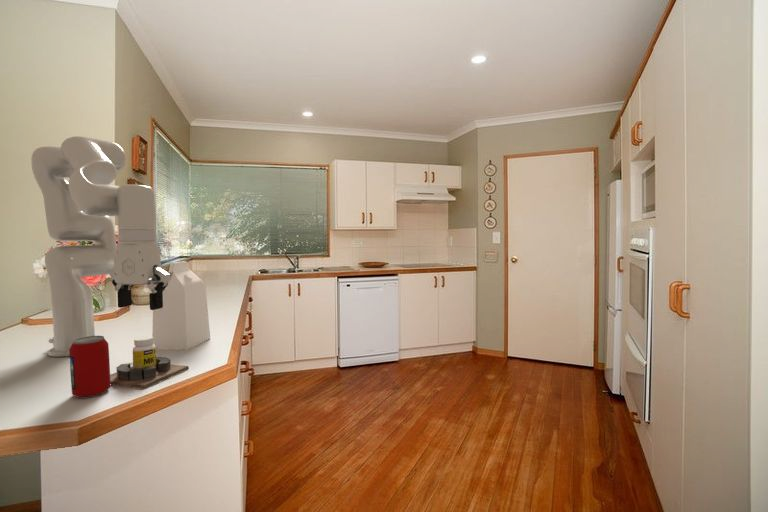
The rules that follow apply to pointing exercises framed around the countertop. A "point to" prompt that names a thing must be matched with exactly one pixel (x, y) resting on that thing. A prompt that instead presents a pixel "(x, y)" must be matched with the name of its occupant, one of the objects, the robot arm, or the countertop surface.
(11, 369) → the countertop surface
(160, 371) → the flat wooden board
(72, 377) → the beverage can
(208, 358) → the countertop surface
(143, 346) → the supplement bottle
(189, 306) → the milk
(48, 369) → the countertop surface
